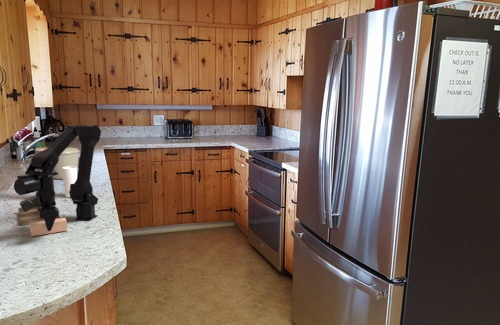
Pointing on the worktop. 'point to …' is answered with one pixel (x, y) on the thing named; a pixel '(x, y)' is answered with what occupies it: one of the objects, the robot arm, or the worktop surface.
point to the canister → (67, 161)
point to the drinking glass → (69, 178)
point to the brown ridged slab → (30, 216)
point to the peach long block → (41, 228)
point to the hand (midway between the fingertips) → (48, 229)
